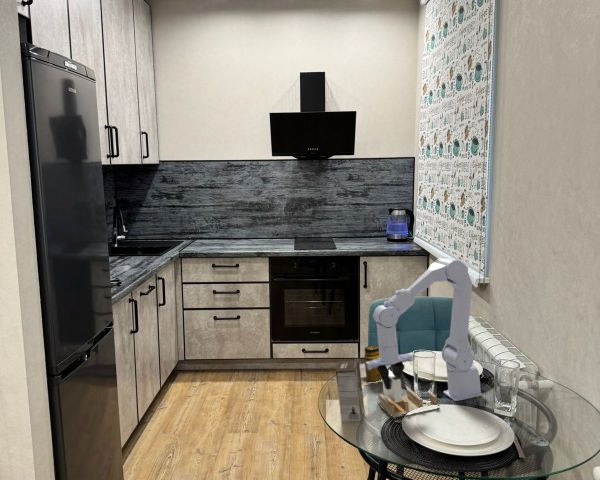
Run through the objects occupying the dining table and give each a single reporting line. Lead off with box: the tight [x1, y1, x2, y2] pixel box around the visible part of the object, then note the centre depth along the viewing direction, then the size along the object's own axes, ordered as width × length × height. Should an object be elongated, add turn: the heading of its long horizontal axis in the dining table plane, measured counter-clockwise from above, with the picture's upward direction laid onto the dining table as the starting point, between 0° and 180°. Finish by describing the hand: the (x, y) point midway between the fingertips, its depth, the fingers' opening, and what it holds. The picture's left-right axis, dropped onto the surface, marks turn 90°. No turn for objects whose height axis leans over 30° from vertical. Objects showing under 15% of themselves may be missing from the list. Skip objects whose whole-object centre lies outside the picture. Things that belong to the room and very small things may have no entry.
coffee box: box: [335, 359, 365, 423], centre depth 171 cm, size 9×6×16 cm
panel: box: [382, 369, 403, 403], centre depth 172 cm, size 2×9×7 cm, turn 13°
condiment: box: [361, 345, 382, 386], centre depth 198 cm, size 7×8×12 cm
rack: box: [377, 388, 438, 416], centre depth 174 cm, size 15×12×4 cm
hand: (391, 387), depth 172 cm, fingers closed on panel, 2 cm apart
